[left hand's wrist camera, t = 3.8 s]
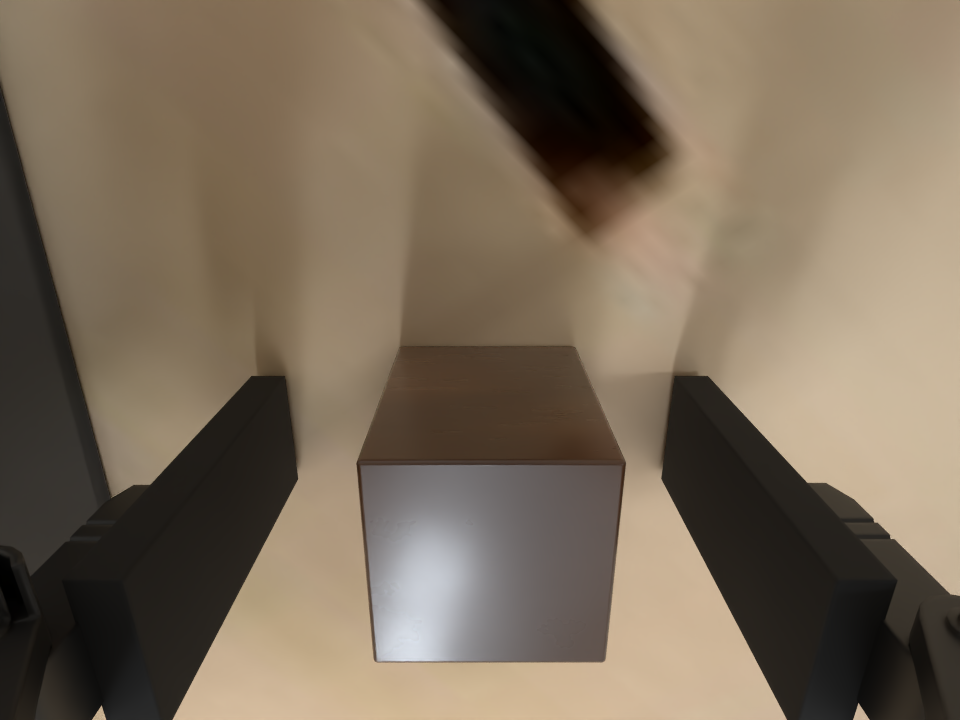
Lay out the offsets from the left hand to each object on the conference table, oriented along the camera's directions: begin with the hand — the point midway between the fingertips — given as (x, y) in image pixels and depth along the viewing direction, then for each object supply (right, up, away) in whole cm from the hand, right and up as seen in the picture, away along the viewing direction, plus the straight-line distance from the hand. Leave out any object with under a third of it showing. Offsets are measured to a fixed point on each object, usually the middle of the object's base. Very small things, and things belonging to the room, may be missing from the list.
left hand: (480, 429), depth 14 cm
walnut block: (0, 0, 0) cm, 0 cm away
